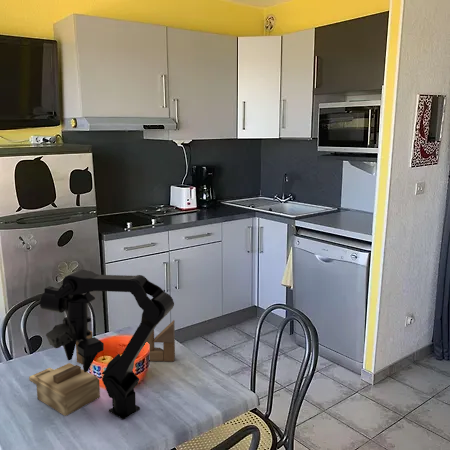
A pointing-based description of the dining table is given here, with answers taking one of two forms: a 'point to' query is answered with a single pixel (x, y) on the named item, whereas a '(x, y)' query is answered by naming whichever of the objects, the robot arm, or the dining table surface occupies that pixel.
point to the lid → (67, 379)
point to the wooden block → (168, 344)
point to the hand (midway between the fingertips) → (77, 365)
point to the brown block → (79, 357)
